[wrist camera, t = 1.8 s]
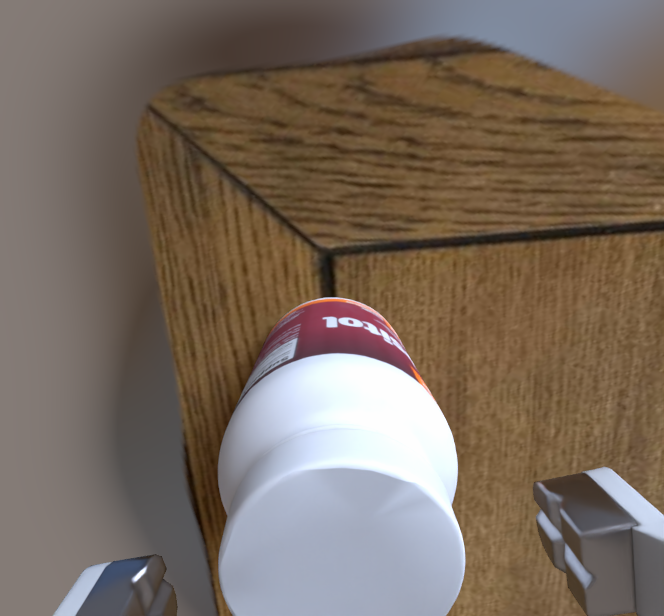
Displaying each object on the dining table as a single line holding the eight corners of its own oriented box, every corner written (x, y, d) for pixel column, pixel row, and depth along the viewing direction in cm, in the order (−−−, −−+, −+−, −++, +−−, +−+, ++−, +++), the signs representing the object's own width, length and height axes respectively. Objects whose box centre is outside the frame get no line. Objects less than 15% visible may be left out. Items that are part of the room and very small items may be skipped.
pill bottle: (431, 354, 18) (580, 559, 8) (338, 449, 20) (358, 746, 9) (324, 262, 17) (328, 354, 7) (232, 368, 18) (109, 593, 8)
